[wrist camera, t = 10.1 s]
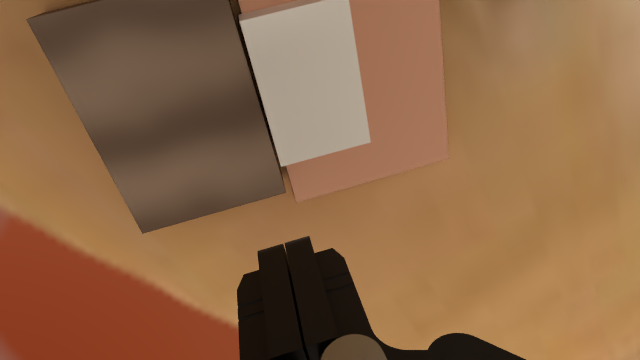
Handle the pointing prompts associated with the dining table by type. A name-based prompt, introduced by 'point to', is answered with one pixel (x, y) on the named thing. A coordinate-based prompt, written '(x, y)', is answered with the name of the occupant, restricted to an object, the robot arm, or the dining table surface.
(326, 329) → the robot arm
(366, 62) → the terracotta mat
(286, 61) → the cream tile
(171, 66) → the walnut deck
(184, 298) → the dining table surface
